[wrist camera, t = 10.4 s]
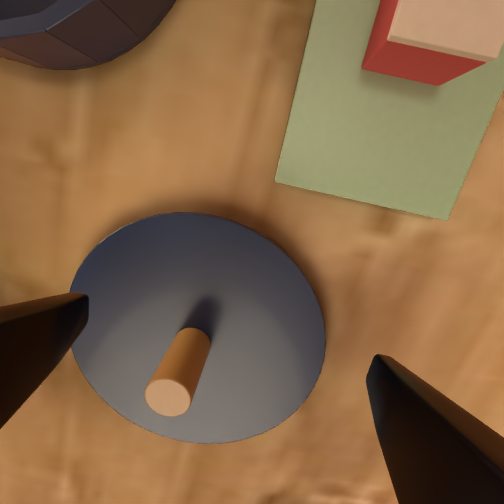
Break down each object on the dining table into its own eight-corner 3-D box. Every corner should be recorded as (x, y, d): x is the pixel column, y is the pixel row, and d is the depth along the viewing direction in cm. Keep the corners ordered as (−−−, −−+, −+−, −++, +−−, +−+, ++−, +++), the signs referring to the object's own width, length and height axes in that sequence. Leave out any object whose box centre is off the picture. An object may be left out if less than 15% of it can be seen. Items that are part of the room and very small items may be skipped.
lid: (287, 453, 24) (291, 546, 18) (72, 402, 24) (8, 478, 18) (358, 245, 19) (396, 282, 13) (80, 182, 19) (-8, 190, 13)
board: (433, 216, 18) (447, 221, 16) (274, 180, 18) (274, 181, 16) (600, -191, 12) (643, -239, 11) (371, -240, 12) (384, -293, 11)
